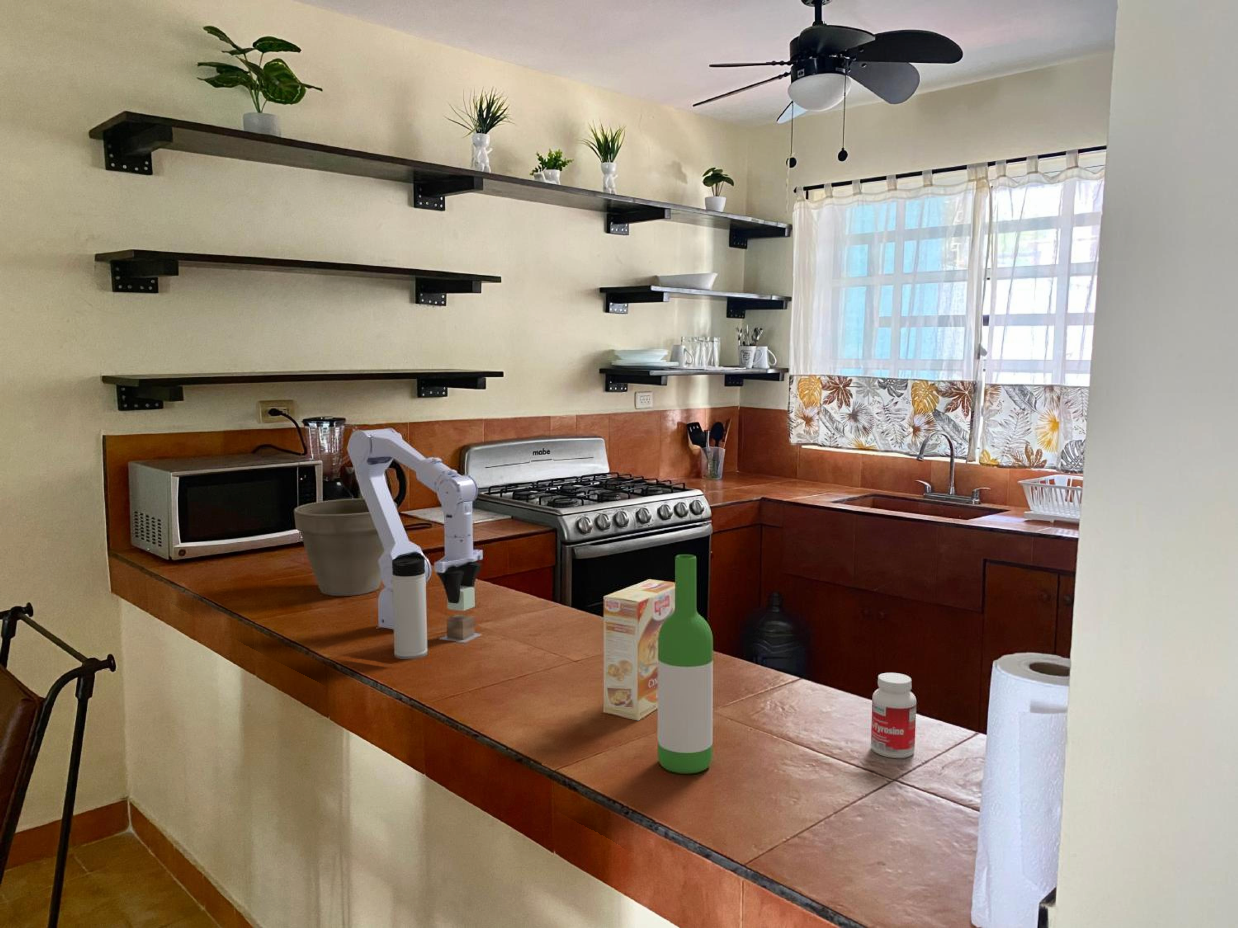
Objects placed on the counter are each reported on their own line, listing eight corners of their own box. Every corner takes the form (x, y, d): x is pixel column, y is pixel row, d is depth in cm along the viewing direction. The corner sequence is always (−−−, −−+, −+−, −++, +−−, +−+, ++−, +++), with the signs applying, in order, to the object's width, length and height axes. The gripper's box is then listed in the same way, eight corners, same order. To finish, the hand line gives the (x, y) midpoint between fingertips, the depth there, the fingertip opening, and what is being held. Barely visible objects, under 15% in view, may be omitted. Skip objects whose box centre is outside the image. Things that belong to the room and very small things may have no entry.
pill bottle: (863, 751, 137) (865, 678, 135) (881, 738, 141) (883, 667, 140) (904, 763, 133) (906, 687, 131) (921, 749, 137) (923, 676, 136)
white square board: (419, 643, 191) (419, 640, 191) (453, 628, 201) (453, 625, 201) (468, 651, 186) (468, 647, 186) (501, 635, 196) (500, 632, 196)
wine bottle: (708, 752, 136) (710, 550, 133) (716, 775, 129) (717, 561, 126) (655, 753, 136) (655, 550, 133) (659, 776, 128) (659, 562, 125)
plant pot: (322, 607, 220) (318, 516, 218) (281, 589, 238) (278, 504, 236) (417, 590, 236) (415, 505, 234) (372, 574, 255) (369, 495, 253)
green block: (447, 608, 192) (447, 589, 191) (458, 604, 195) (458, 585, 195) (463, 610, 190) (463, 591, 190) (474, 606, 194) (474, 587, 193)
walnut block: (447, 637, 192) (446, 618, 192) (458, 632, 196) (457, 614, 196) (463, 640, 191) (462, 620, 190) (474, 634, 194) (473, 616, 194)
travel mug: (434, 653, 184) (431, 553, 182) (416, 663, 178) (413, 560, 176) (406, 650, 186) (403, 551, 184) (388, 660, 180) (385, 558, 178)
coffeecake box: (639, 721, 149) (638, 601, 147) (601, 712, 152) (600, 595, 150) (683, 693, 161) (684, 582, 159) (647, 686, 165) (647, 577, 163)
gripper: (454, 542, 183) (455, 610, 184) (494, 530, 196) (495, 594, 197) (424, 539, 186) (426, 606, 187) (466, 528, 199) (467, 590, 200)
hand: (459, 600), depth 193 cm, fingers closed on green block, 4 cm apart
